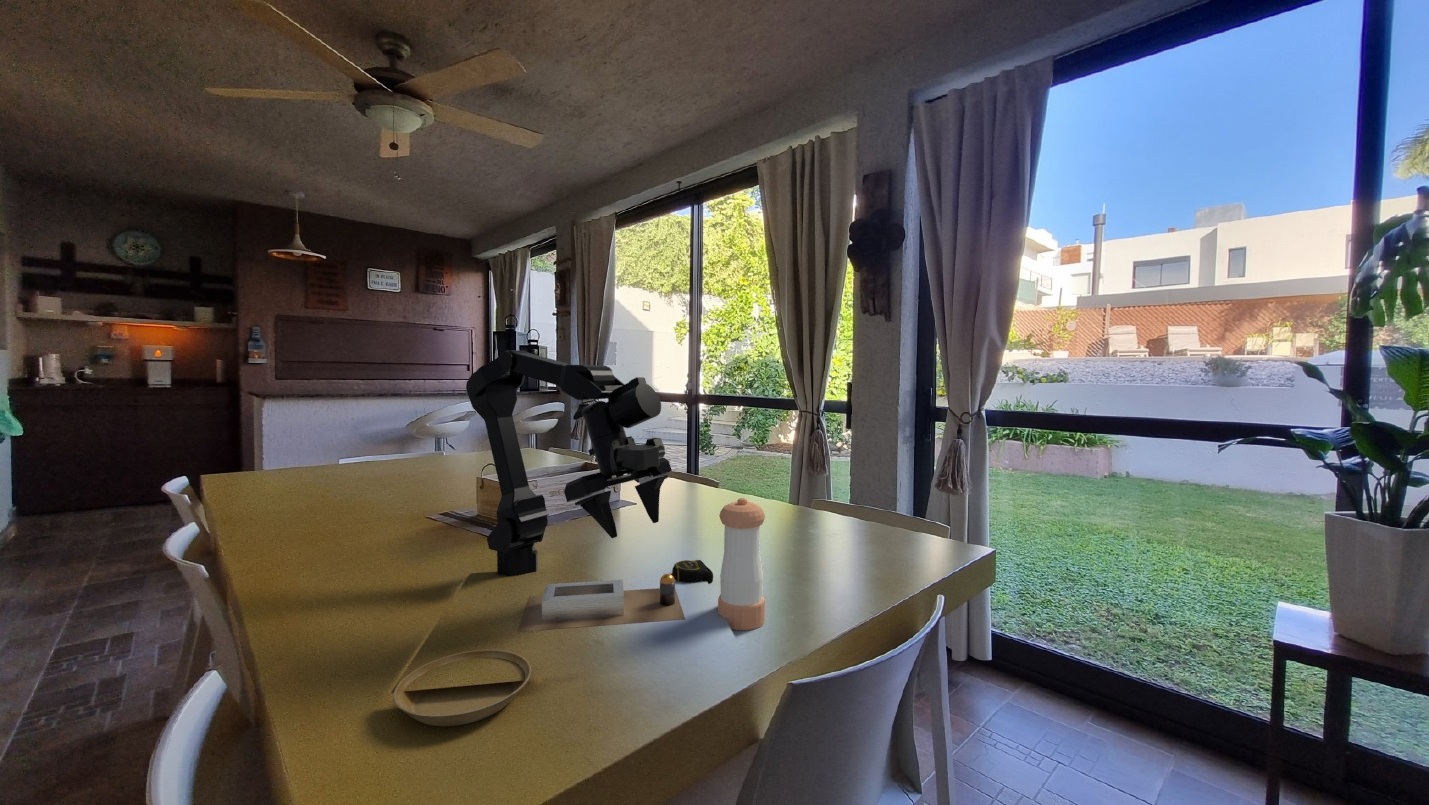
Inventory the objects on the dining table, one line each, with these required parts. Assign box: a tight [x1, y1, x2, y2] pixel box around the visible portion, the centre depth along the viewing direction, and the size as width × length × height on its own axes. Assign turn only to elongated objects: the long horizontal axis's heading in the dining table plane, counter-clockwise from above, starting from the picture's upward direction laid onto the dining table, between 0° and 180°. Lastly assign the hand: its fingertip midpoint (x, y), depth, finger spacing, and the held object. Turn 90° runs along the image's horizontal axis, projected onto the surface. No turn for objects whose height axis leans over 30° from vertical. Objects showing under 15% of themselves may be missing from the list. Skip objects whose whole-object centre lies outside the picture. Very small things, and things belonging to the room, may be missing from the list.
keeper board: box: [517, 587, 686, 633], centre depth 90 cm, size 24×13×2 cm, turn 101°
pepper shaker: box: [717, 497, 766, 631], centre depth 89 cm, size 7×7×19 cm
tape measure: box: [671, 559, 714, 585], centre depth 104 cm, size 7×7×4 cm
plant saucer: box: [393, 649, 532, 727], centre depth 67 cm, size 15×15×3 cm
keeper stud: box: [659, 573, 676, 606], centre depth 92 cm, size 2×2×5 cm
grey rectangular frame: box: [542, 579, 625, 621], centre depth 89 cm, size 12×7×3 cm, turn 101°
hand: (636, 529), depth 92 cm, fingers open, 9 cm apart
